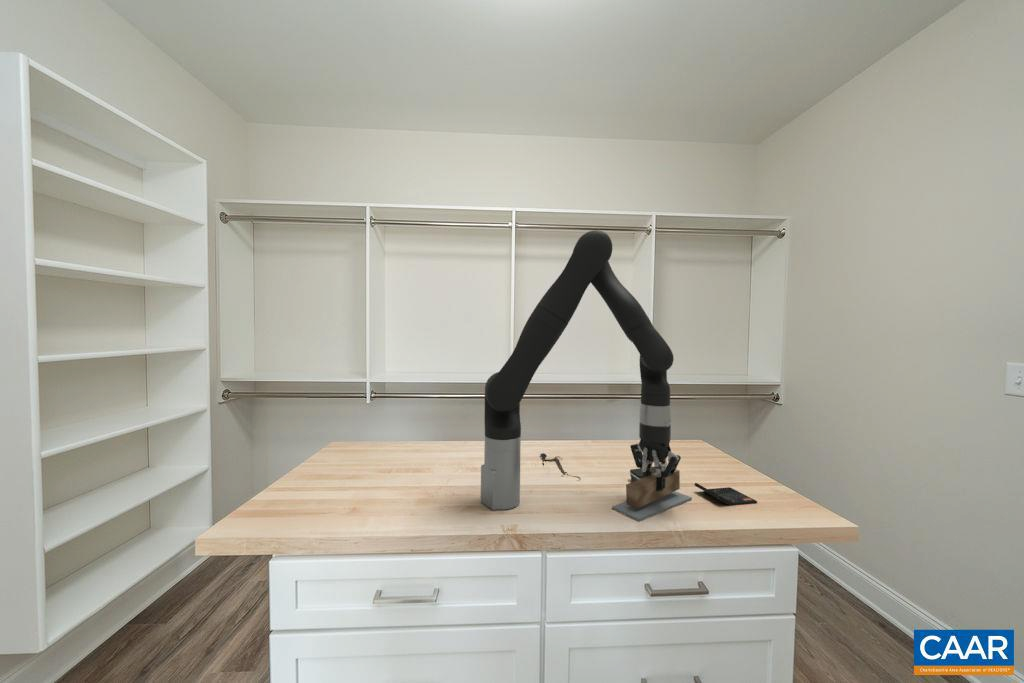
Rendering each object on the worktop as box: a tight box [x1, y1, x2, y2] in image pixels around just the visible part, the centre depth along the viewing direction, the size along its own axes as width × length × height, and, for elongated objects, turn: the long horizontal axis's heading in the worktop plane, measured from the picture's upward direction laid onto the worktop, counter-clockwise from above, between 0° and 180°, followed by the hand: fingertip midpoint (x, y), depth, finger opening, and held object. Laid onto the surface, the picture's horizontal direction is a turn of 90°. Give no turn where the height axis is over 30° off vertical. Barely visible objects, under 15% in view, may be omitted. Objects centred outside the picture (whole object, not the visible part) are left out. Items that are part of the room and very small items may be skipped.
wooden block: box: [625, 468, 681, 509], centre depth 101 cm, size 18×3×5 cm, turn 125°
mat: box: [611, 490, 693, 522], centre depth 101 cm, size 22×8×1 cm, turn 125°
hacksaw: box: [539, 453, 581, 482], centre depth 128 cm, size 24×10×2 cm, turn 1°
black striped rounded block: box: [629, 466, 657, 482], centre depth 115 cm, size 7×4×11 cm
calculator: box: [694, 482, 758, 507], centre depth 106 cm, size 9×12×3 cm
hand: (653, 488), depth 101 cm, fingers closed on wooden block, 3 cm apart
